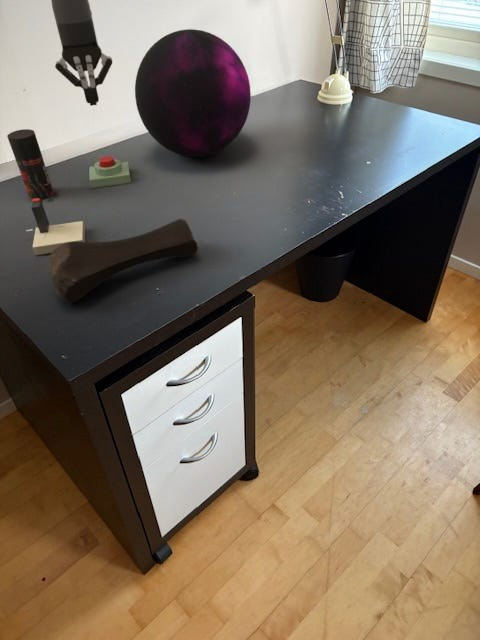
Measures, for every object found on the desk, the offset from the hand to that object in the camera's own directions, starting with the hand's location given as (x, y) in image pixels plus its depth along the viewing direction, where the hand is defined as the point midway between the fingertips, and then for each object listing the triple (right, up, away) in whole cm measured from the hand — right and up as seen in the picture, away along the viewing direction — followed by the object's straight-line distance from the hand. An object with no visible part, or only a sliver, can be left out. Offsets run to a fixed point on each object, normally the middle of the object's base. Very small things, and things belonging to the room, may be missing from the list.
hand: (93, 104), depth 112 cm
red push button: (+1, -11, +10) cm, 15 cm away
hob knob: (-8, -31, -9) cm, 33 cm away
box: (+1, -14, +12) cm, 19 cm away
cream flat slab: (-5, -33, -9) cm, 35 cm away
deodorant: (-15, -19, +7) cm, 26 cm away
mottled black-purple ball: (+23, -3, +23) cm, 33 cm away
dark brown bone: (+12, -41, -19) cm, 47 cm away
